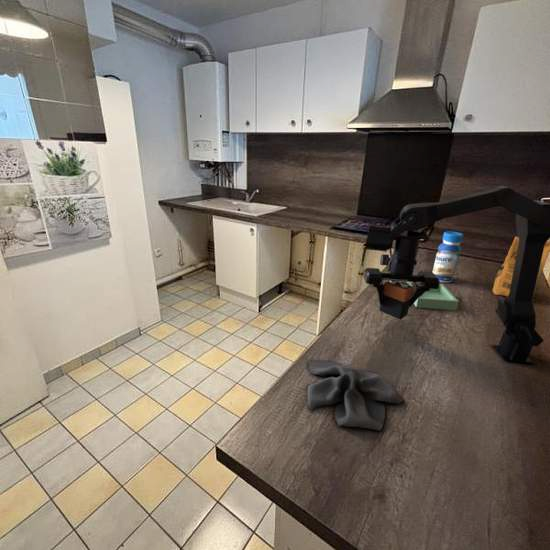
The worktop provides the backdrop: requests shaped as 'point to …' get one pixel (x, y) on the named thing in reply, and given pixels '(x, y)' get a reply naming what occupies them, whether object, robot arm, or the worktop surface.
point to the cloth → (352, 394)
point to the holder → (437, 299)
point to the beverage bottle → (448, 256)
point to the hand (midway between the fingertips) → (394, 305)
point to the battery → (396, 298)
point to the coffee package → (506, 270)
